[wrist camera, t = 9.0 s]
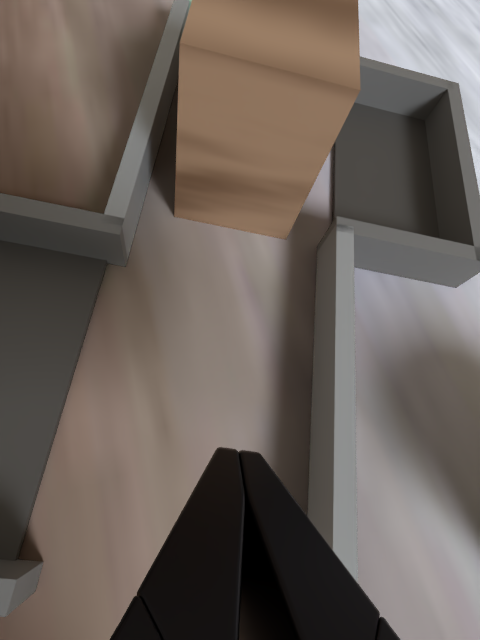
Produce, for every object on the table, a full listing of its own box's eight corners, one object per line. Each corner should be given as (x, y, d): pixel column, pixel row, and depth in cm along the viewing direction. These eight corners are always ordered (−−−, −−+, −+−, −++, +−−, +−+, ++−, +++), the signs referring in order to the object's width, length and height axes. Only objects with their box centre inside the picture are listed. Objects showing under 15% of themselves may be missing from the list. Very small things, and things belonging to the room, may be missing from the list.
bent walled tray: (503, 632, 17) (566, 660, 14) (-238, 568, 14) (-339, 589, 11) (430, 101, 32) (455, 66, 29) (63, 4, 28) (52, -46, 26)
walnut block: (285, 239, 24) (360, 89, 15) (174, 216, 23) (179, 42, 14) (296, 91, 29) (355, -82, 20) (208, 69, 28) (227, -123, 19)
